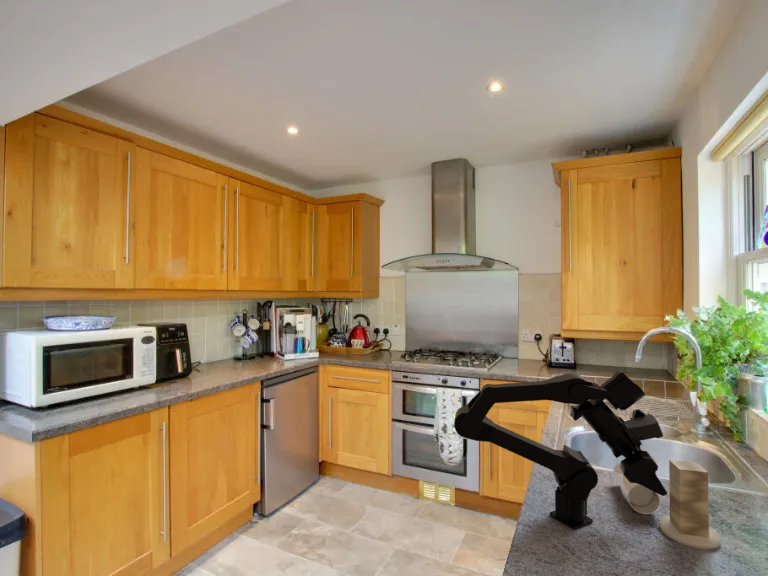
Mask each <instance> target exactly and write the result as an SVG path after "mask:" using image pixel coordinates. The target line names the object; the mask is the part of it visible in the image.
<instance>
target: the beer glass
mask: <svg viewBox="0 0 768 576" xmlns="http://www.w3.org/2000/svg"><path fill="white" fill-rule="evenodd" d="M620 463H621V462H618V463H617V464H616V465H615V466H614V467H613V470H612V475H613V478H614V480H615V481H616V482H617V484H619V489H620V492H621V495H622V496H623V498H624V500H625V501H626V502H627V504H628V505H629V506H630V507H631V508H632V509H633V510H634V511H635V512H637V513H639V514H641V515H647V516H648V515H652V514H654V513H656V512H658V510H659V509H660V507H661V502H662V501H661V497H660V494H658V493H656V492H654V491H652V490H650V489H648V488H646V487H644V486H641V485H639V484H637V483H630V482H629V481H628V480H627V478H626V477H625V476H624V475H623V472H622V470H621V468H620Z"/></svg>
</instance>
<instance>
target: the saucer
mask: <svg viewBox="0 0 768 576" xmlns="http://www.w3.org/2000/svg"><path fill="white" fill-rule="evenodd" d="M659 528H660V531H661V532H662V533H663V534H664V535H665V536H666V537H668V538H669V539H670V540H673V541H675V542H676V543H679V544H681V545H684V546H687V547H690V548H694V549H698V550H707V551H708V550H716V549H719V548H720V547H721V536H720V534H719V533H718V531H717V530H715V529H714V528H713V527H712V526H709V537H701V536H694V535H686V534H680V533H679V531H678V530H677V529H676V528H675V526H674V525H673V524H672V523H671V521H670V515H667V516H666V515H665V516H663V517H661V518H660V520H659Z"/></svg>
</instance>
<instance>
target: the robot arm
mask: <svg viewBox="0 0 768 576" xmlns="http://www.w3.org/2000/svg"><path fill="white" fill-rule="evenodd" d="M645 396H646V393H645V392H644V390H643V389H642V388H641V387H640V386H639V385H638V384H637V383H635V382H634V381H633V380H632V379H631V378H629V377H628V376H627V375H626V374H625V372H623V371H621V370H618V371H616V372H615V373H614V374H613V375H612V376H611V377H610V378H608V379H607V380H606V381H605V382H602V384H600V385H599V384H598V383H596V382H592V381H590V380H589V381H588V380H585V379H584V378H583V377H582V376H580V375H578V374H577V373H574V372H573V373H572V372H570V373H565V374H564V373H563V374H561V375H555V376H553V377H551V378H548V379H545V380H538V381H537V380H536V381H526V382H509V383H499V384H492V383H487V384H484V385H482V387H481V389H480V390H479V392H477V394H475V395H474V396H473V397H472V398H471V399H470V401H468V402H467V404H466V405H463V406H461V407H459V408H458V409H457V410H456V412H455V417H454V420H453V424H454V425H453V426H454V429H455V432H456V433H457V434H458V436H460V437H461V438H464V439H466V440H467V439H468V440H472V441H474V442H485V443H491V444H493V445H495V446H497V447H500V448H502V449H504V450H507V451H509V452H511V453H513V454H516V455H518V456H519V457H522V458H524V459H526V460H529V461H530V462H532V463H535V464H537V465H540V466H542V467H544V468H546V469H549V470H550V471H552V472H553V473H552V474H553V477H554V479H555V482H556V484H557V485H558V486H557V487H556V489H555V490H554V502H555V503H554V507H555V508H554V510H552V511H550V512H549V516H550V517H552V518H553V519H556V520H557V521H559V522H560V523H563V524H564V525H565V526H567V527H569V528H570V529H573V530H575V529H577V528H578V529H579V528H581V527H584V526H586V525H589V524H592V523H593V522H594V520H593V518H591V517H589V516H588V499H589V496H590V495H591V494H590V493H591V491H592V490H594V489H595V488H596V486H597V485H598V481H599V477H598V473H597V471H596V470H595V468H594V467H593V465H592V464H591V462H590V461H589V459H588V458H587V457H586V456H585V455H584V454H583V452H582V451H581V450H574V449H572V448H571V447H569V446H567V445H566V444H563V447H562V449H560V450H559V449H553V448H551V447H548V446H547V445H545V444H542V443H540V442H537V441H536V440H534V439H531V438H530V437H529V438H528V437H527V436H525V435H521V434H520V433H517V432H515V431H512V430H510V429H508V428H506V427H504V426H501V425H500V424H497V423H495V422H494V421H492V420H491V419H490V418H489V417H488V416H487V414H489V412H490V411H491V409H492V407H494V405H495V404H500V403H501V404H503V403H519V402H536V401H550V402H551V401H553V402H557V403H561V404H568V405H569V404H570V413H569V414H570V417H571V418H572V419H573V421H578V420H579V419H580V418H582V419H584V420H585V422H586V423H587V424H588V425H589V427H590V428H591V429H592V430H593V431H595V433H596V435H598V438H599V440H600V441H601V442H602V443H605V444H606V445H607V447H608V448H609V449H610V450H611V452H612V454H613V456H614V457H615V458H616V459H618V458H619V457H621V456H622V457H624V459H622V460H620V462H619V463H620V468H621V470H622V472H623V475H624V476H625V477H626V478H627V480H628V481H629V482H630V483H637V484H639V485H641V486H644V487H646V488H648V489H650V490H652V491H654V492H656V493H658V495H659V496H662V497H664V496H666V495H668V491H667V490H666V488H665V486H664V485H663V483H662V482H661V480H660V479H659V478H658V477H659V476H658V475H657V474H656V473H657V471H658V469H659V465H658V464H657V462H656V460H655V459H654V458H653V457H652V455H651V454H650V453H649V452H648V451H647V450H642V449H641V446H642V445H643V443H642V441H646V440H651V439H655V438H656V439H660V438H663V437H664V433H663V431H662V429H661V425H660V424H659V423H660V422H658V420H657V418H656V417H655V416H654V415H653V414H651V413H647V414H646V413H645V412H644V411H643V410H642V409H641V408H638V409H633V411H632V415H631V417H629V419H626V420H624V419H623V418H622V417H621V416H619V415H617V414H616V413H615V412H614V411H613V410H612V409H611V408H610V407H609V405H610V406H611V407H612V408H613V409H614V410H615V411H617V410H620V411H623V412H625V411H626V410H627V409H629V408H630V407H632V406H634V405H635V403H637V402H638V401H640V400H641V399H644V397H645ZM605 401H606V402H607V403H608V404H609V405H608V404H606V402H605Z"/></svg>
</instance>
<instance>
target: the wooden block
mask: <svg viewBox="0 0 768 576" xmlns="http://www.w3.org/2000/svg"><path fill="white" fill-rule="evenodd" d="M668 466H669V467H668V471H669V472H668V473H669V477H668V480H669V482H668V484H669V485H668V487H669V516H670V521H671V523H672V524H673V525H674V526H675V528H676V529H677V530H678V531H679V533H680V534H686V535H694V536H701V537H709V527H710V514H709V511H710V509H709V508H710V506H709V505H710V501H709V500H710V499H709V494H710V493H709V472H708V471H707V470H706V469H705V468H704V467H703V466H702V465H700V464H698V462H695V461H687V460H674V459H669V460H668Z"/></svg>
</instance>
